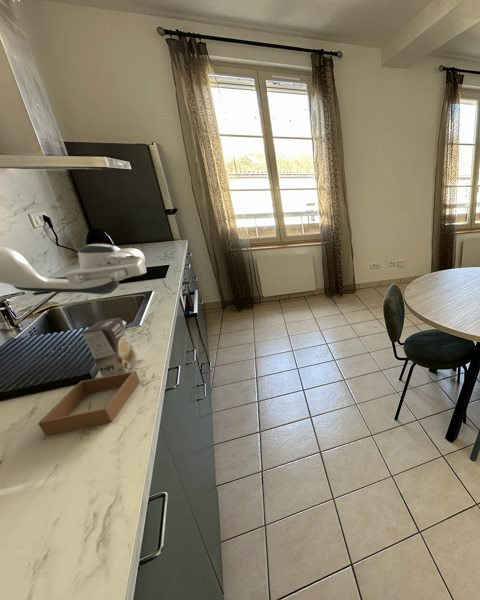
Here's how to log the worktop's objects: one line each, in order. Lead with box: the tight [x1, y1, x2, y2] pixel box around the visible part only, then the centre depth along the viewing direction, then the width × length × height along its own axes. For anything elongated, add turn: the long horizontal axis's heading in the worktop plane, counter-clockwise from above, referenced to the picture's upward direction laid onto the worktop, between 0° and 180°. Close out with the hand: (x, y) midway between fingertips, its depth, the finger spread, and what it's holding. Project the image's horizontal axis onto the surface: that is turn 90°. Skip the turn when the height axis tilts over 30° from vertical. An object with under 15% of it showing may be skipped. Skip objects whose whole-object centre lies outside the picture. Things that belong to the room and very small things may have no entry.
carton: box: [37, 370, 141, 437], centre depth 88 cm, size 14×18×4 cm
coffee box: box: [81, 317, 139, 377], centre depth 102 cm, size 9×6×16 cm
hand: (95, 279), depth 102 cm, fingers open, 8 cm apart
